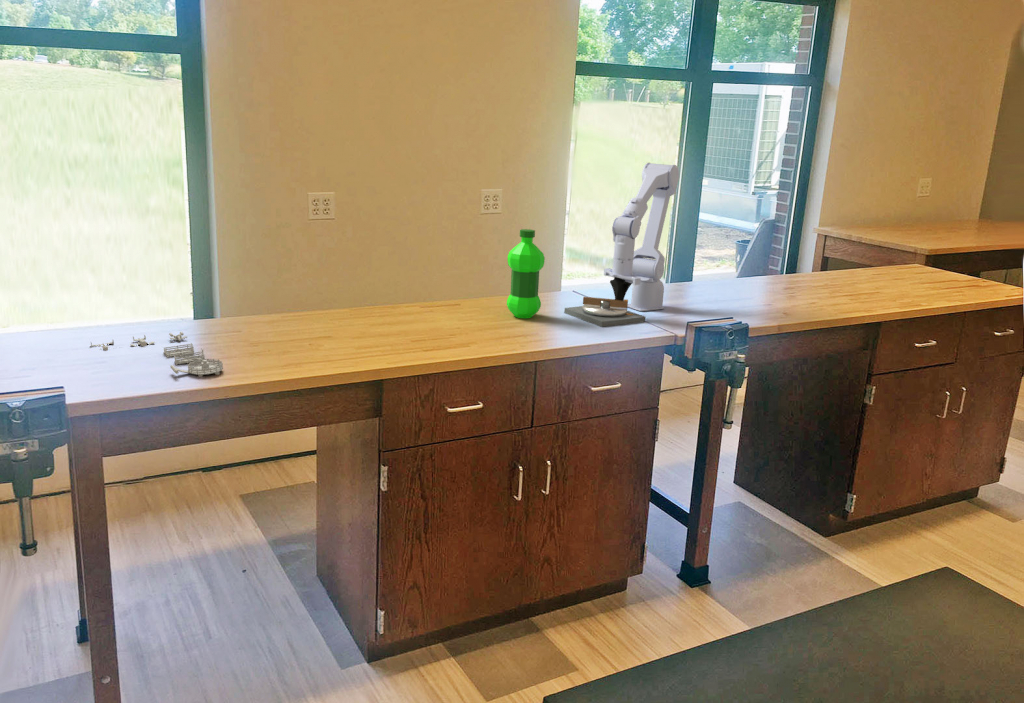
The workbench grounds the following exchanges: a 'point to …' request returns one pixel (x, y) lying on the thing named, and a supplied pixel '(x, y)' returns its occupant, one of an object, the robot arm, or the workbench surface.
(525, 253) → the plastic bottle
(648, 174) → the robot arm
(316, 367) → the workbench surface
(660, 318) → the workbench surface
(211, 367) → the drone parts
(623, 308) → the dial
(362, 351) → the workbench surface
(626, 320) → the stand plate
